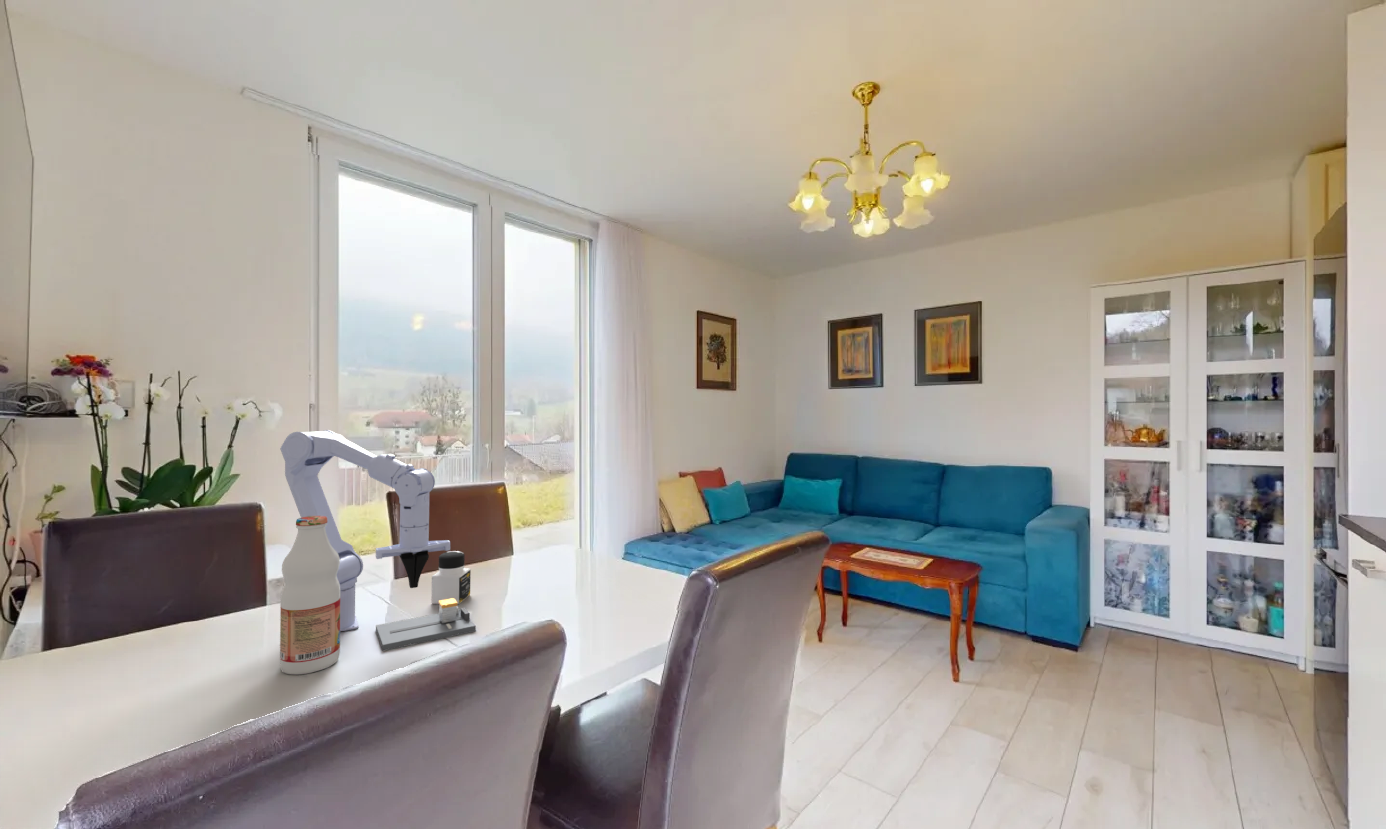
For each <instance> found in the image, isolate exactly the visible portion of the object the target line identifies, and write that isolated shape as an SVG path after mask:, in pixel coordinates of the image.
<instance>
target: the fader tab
mask: <svg viewBox="0 0 1386 829" xmlns="http://www.w3.org/2000/svg"><path fill="white" fill-rule="evenodd" d="M457 606H458V604H457V602H456V600H455V599H454V598H451V599H445V600H439V604H438V607H439V610H438V611H439V612H438V613H439V620H440V621H441V623H446V622H452V621H456V612H457Z"/></svg>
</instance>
